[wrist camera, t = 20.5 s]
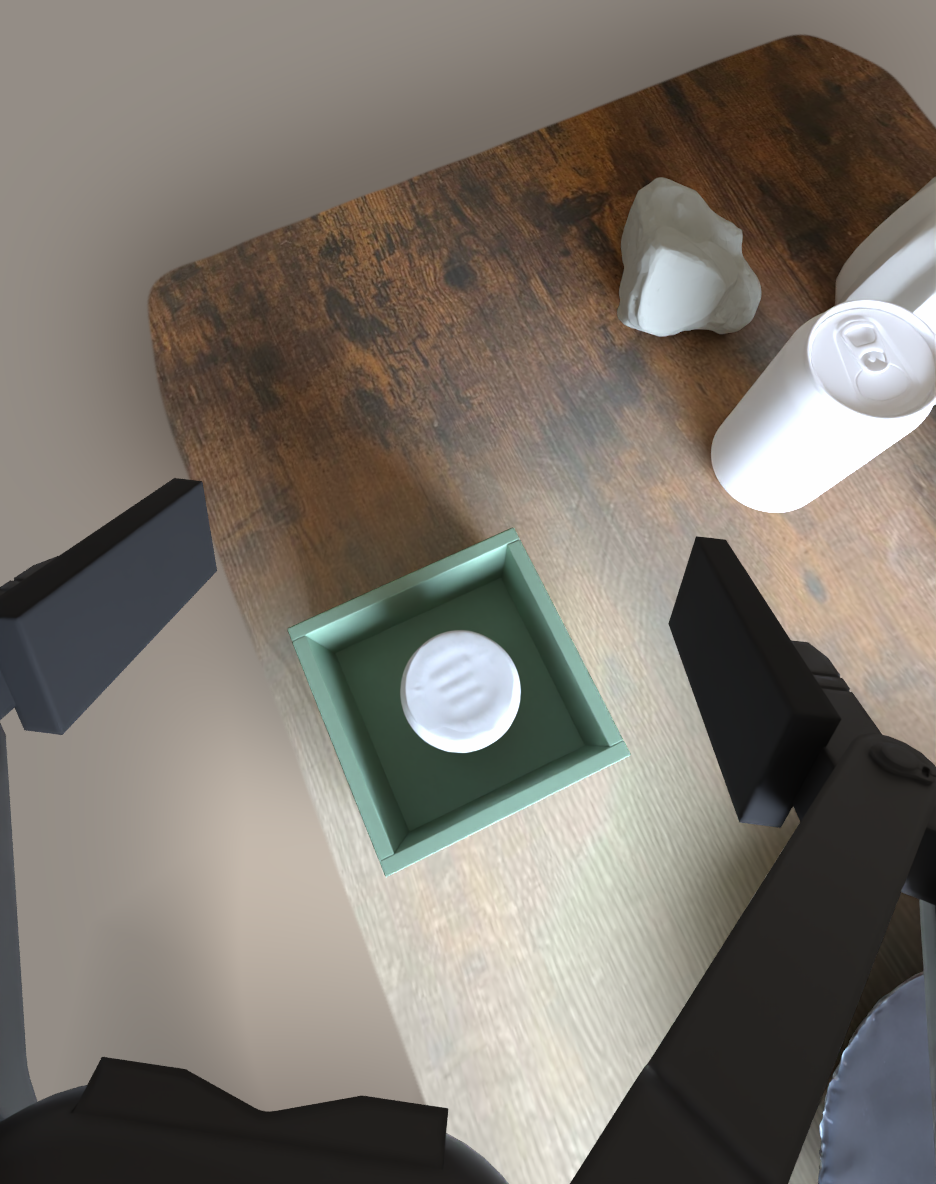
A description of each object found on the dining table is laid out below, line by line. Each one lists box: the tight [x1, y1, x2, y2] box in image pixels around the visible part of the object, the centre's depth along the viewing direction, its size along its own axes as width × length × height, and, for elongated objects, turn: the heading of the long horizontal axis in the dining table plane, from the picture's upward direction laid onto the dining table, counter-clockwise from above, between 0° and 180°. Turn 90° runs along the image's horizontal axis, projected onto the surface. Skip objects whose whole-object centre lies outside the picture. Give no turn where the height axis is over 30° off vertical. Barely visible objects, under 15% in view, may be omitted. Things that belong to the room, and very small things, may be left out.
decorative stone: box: [617, 177, 761, 337], centre depth 42 cm, size 11×9×10 cm
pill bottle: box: [400, 630, 521, 753], centre depth 32 cm, size 6×6×11 cm
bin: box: [288, 528, 631, 877], centre depth 34 cm, size 14×14×8 cm
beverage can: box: [711, 299, 936, 513], centre depth 36 cm, size 8×8×12 cm
